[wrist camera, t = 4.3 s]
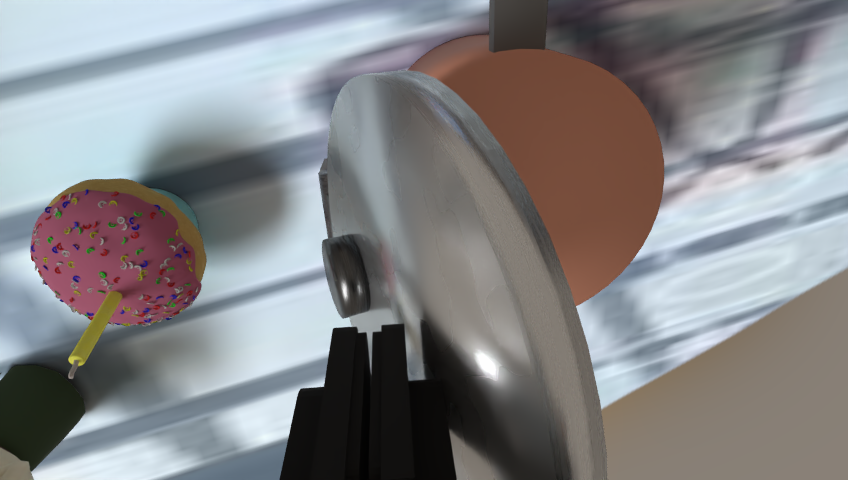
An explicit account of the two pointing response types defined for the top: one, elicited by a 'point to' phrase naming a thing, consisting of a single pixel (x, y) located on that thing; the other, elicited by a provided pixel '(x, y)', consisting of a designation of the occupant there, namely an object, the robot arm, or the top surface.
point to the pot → (561, 138)
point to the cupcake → (118, 255)
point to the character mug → (34, 417)
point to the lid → (459, 277)
